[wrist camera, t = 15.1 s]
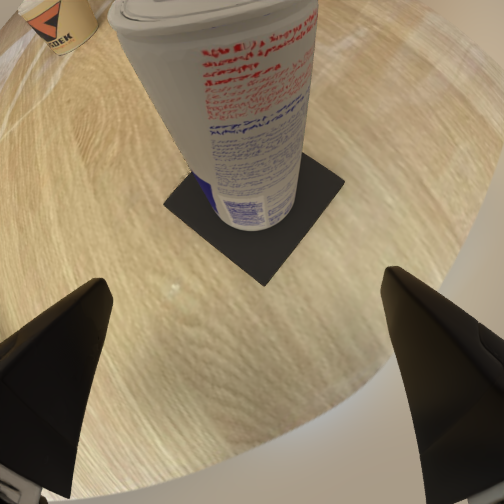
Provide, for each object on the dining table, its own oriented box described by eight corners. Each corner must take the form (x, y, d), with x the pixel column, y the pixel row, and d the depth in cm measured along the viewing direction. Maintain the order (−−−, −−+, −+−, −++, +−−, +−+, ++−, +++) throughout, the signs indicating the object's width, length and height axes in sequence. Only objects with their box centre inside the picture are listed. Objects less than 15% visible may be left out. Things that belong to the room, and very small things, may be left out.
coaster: (343, 184, 19) (345, 181, 19) (264, 286, 18) (264, 286, 18) (245, 121, 21) (244, 117, 21) (165, 206, 20) (162, 203, 20)
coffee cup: (42, 64, 28) (5, 18, 16) (72, 27, 29) (44, -18, 18) (82, 52, 26) (43, -6, 15) (113, 14, 28) (86, -39, 16)
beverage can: (305, 170, 19) (336, -44, 5) (279, 245, 18) (286, 32, 4) (230, 148, 20) (174, -48, 5) (198, 217, 19) (64, 37, 4)
